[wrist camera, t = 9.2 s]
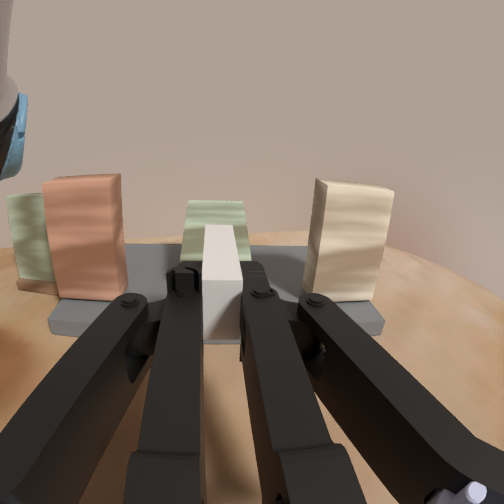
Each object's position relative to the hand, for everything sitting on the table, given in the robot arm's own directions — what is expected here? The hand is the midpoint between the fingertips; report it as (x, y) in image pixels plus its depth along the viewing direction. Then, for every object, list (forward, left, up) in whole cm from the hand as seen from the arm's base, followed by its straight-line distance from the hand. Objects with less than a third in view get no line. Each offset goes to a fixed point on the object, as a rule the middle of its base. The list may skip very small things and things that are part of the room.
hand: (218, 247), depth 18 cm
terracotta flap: (-12, -4, -7) cm, 15 cm away
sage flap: (-6, +5, -6) cm, 10 cm away
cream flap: (+2, +13, -7) cm, 15 cm away
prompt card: (-20, -8, -9) cm, 23 cm away
